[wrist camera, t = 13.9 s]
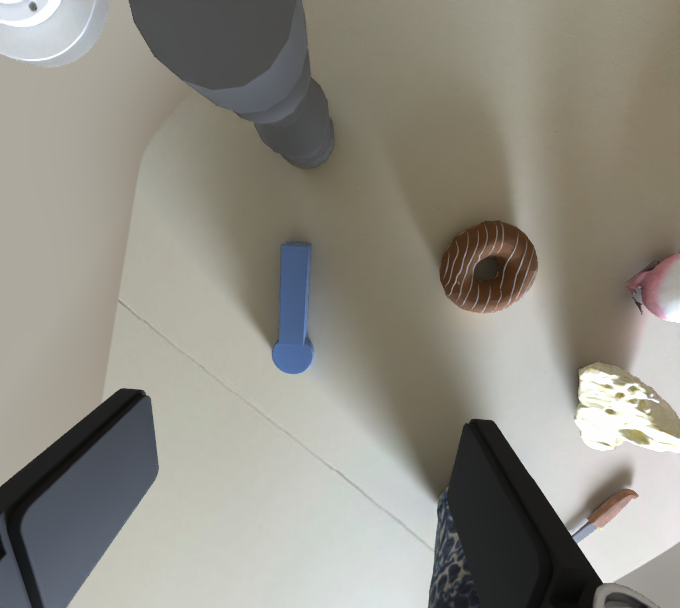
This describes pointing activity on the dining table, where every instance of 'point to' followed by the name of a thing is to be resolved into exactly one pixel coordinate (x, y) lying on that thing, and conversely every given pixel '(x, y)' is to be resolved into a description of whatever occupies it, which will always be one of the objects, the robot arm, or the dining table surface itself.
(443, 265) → the donut
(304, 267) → the spoon
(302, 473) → the dining table surface
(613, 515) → the knife
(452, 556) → the jug
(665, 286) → the onion
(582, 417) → the cheese
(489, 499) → the robot arm
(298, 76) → the candle holder
